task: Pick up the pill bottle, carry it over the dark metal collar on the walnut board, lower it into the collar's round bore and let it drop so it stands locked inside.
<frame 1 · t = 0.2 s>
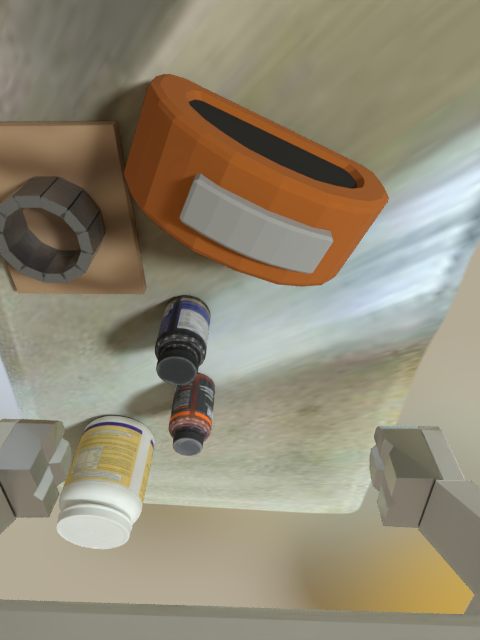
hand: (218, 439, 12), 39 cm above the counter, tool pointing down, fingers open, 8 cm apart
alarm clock: (257, 160, 46), on the counter
pill bottle: (188, 311, 59), on the counter
supplement tub: (121, 434, 76), on the counter
rosette collar: (51, 230, 47), on the collar base board, point 4 cm above the counter
supplement bottle: (196, 383, 68), on the counter
collar base board: (64, 214, 50), on the counter
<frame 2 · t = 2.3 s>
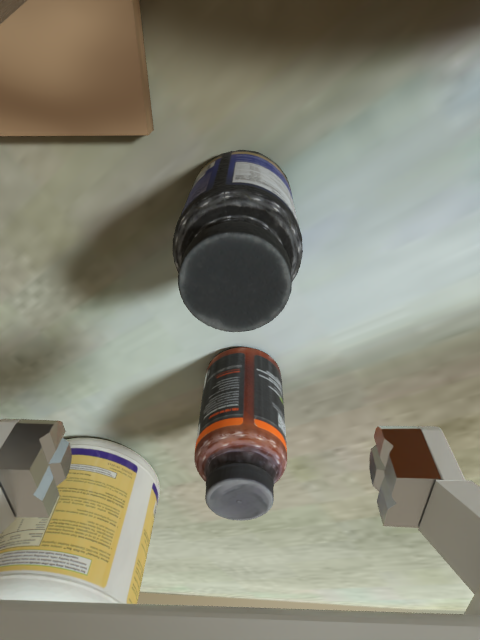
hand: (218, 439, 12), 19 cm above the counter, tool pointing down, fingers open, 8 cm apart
pill bottle: (242, 197, 27), on the counter
supplement tub: (100, 472, 43), on the counter
supplement bottle: (243, 371, 35), on the counter
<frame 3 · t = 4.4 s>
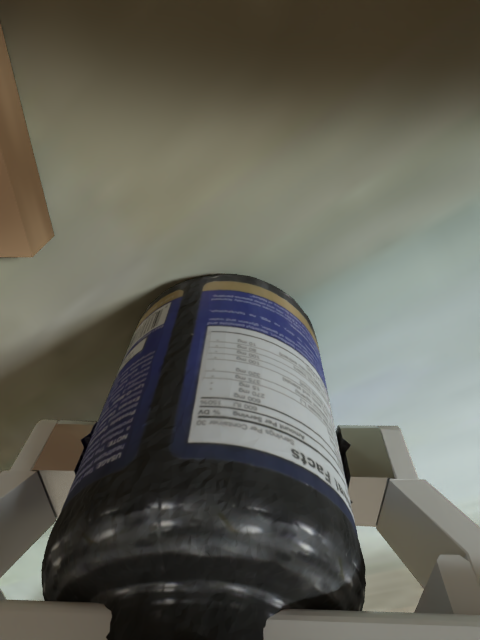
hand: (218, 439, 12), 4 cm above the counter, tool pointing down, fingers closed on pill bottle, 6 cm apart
pill bottle: (227, 343, 15), on the counter, touching gripper
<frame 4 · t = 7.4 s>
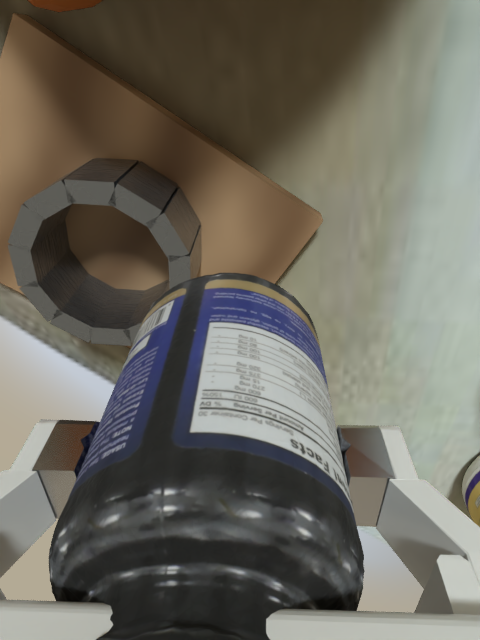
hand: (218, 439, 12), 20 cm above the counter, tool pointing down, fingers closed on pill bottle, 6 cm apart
pill bottle: (230, 341, 15), point 16 cm above the counter, touching gripper
rosette collar: (114, 253, 27), on the collar base board, point 4 cm above the counter
collar base board: (131, 230, 30), on the counter
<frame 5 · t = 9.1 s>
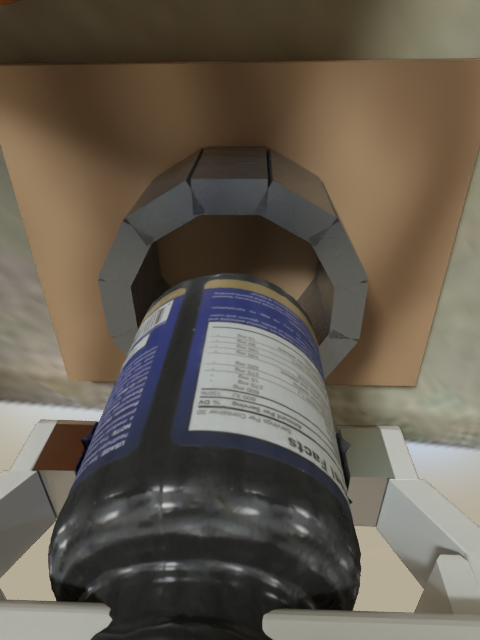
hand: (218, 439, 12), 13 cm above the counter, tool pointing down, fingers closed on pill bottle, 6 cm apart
pill bottle: (229, 341, 16), point 8 cm above the counter, touching gripper
rosette collar: (235, 280, 19), on the collar base board, point 4 cm above the counter
collar base board: (238, 243, 22), on the counter
when the fingers open (9 cm above the counter, at t = 10.5 s): pill bottle drops 3 cm, resting on collar base board.
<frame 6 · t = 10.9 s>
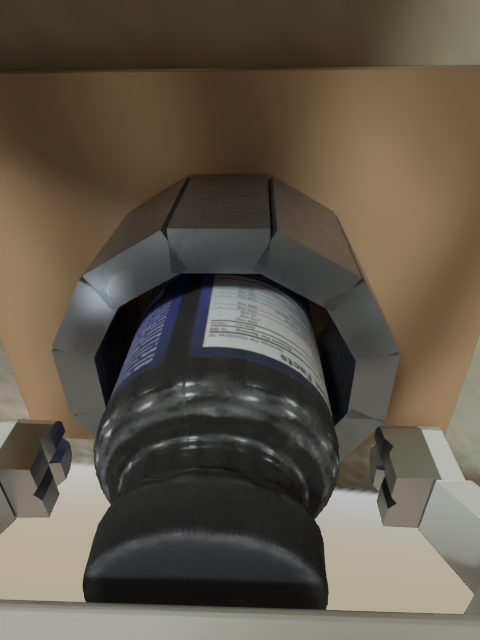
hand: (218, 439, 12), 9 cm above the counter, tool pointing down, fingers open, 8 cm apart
pill bottle: (231, 302, 18), point 1 cm above the counter, touching collar base board
rosette collar: (229, 338, 15), on the collar base board, point 4 cm above the counter
collar base board: (234, 284, 19), on the counter
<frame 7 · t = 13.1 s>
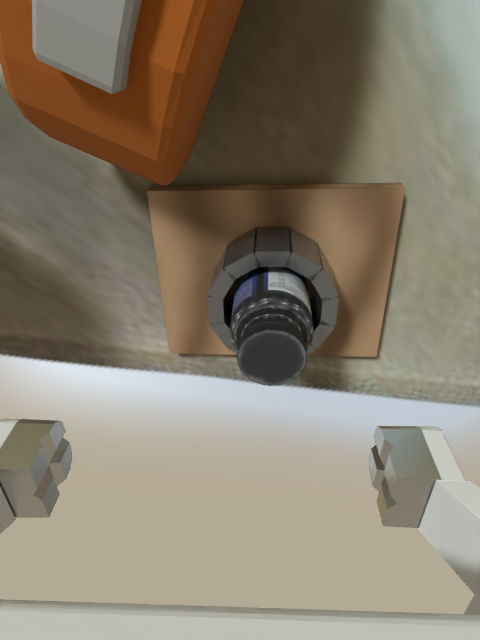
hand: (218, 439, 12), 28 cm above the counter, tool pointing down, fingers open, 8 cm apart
pill bottle: (271, 281, 39), point 1 cm above the counter, touching collar base board
rosette collar: (272, 295, 36), on the collar base board, point 4 cm above the counter
collar base board: (272, 273, 40), on the counter
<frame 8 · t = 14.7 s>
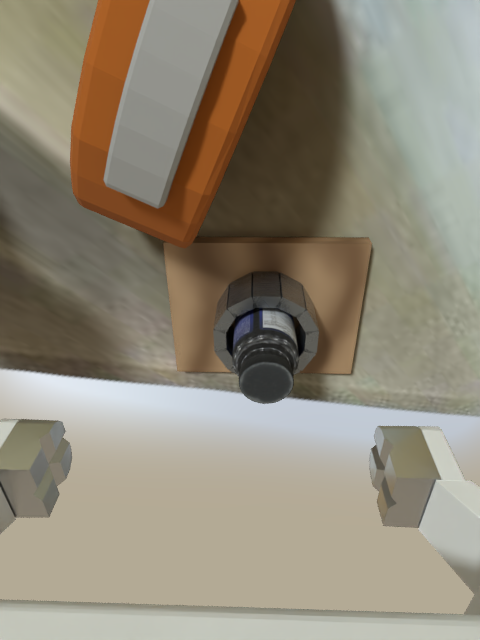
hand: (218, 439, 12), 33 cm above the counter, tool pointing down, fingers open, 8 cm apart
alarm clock: (197, 75, 36), on the counter
pill bottle: (264, 313, 47), point 1 cm above the counter, touching collar base board
rosette collar: (265, 327, 45), on the collar base board, point 4 cm above the counter
collar base board: (264, 306, 48), on the counter
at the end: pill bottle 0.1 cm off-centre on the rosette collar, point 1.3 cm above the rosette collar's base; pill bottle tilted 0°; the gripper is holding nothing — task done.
